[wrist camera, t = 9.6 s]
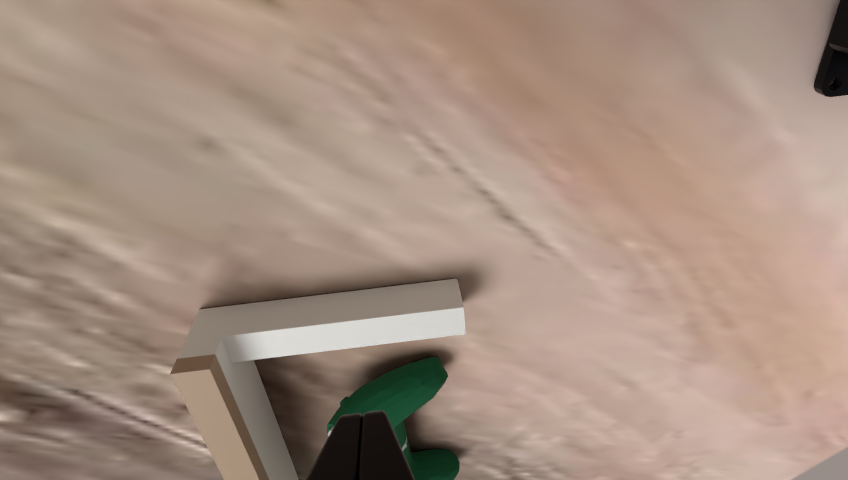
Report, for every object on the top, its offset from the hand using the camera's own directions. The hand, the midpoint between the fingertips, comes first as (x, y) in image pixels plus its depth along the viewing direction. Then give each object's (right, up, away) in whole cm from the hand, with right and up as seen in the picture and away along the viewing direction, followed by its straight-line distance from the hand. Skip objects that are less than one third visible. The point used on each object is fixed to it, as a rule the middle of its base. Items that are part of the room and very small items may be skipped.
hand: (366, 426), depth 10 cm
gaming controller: (0, -6, +19) cm, 19 cm away
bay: (-2, -6, +18) cm, 19 cm away
